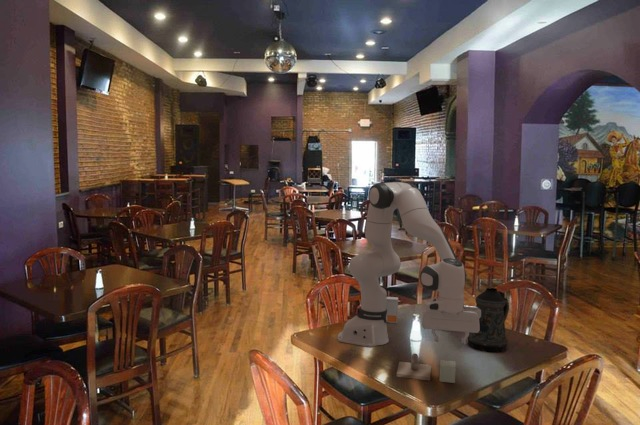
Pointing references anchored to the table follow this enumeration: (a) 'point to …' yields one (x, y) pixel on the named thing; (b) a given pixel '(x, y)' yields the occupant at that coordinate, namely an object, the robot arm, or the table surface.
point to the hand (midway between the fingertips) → (449, 342)
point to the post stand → (414, 369)
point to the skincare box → (392, 309)
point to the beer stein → (490, 322)
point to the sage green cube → (447, 371)
